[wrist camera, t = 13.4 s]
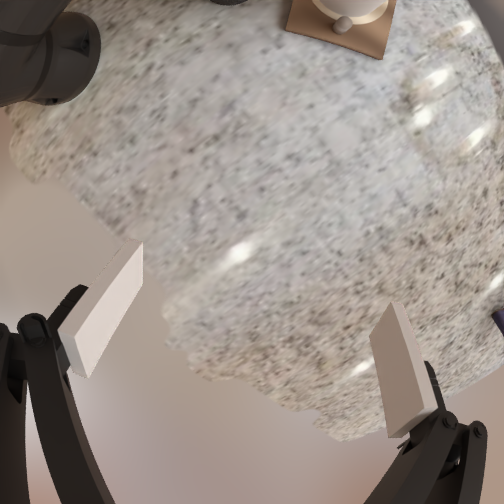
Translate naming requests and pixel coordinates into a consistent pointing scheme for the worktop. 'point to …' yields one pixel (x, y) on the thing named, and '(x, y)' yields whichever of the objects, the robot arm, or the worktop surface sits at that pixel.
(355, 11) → the cup
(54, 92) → the robot arm
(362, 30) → the tray
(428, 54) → the worktop surface
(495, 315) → the flask
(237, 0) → the travel mug
